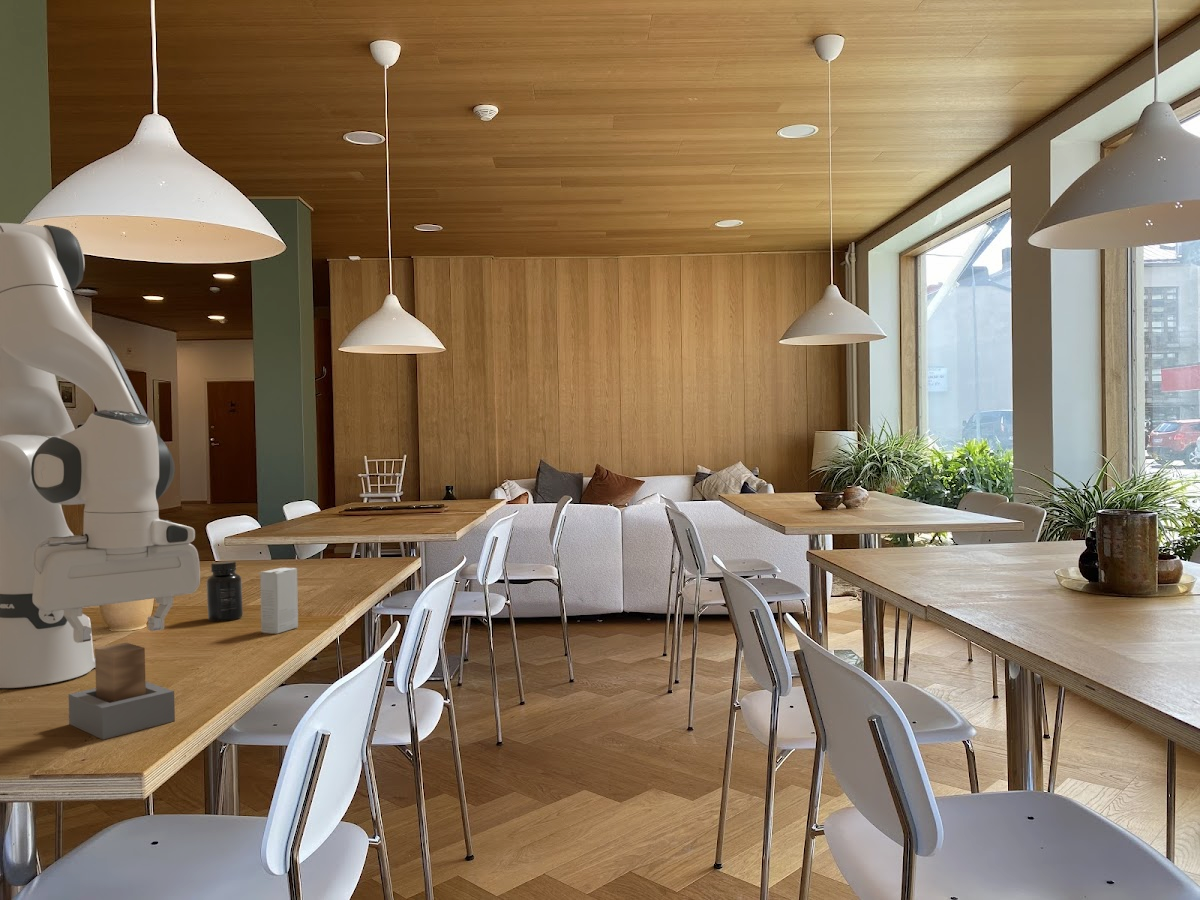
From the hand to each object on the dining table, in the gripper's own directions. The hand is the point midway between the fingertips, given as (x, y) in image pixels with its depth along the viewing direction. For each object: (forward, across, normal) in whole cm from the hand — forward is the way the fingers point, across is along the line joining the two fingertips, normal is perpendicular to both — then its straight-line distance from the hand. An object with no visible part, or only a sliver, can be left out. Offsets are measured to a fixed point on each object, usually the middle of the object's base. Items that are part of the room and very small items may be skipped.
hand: (120, 635), depth 118 cm
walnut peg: (+12, 0, -1) cm, 12 cm away
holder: (+12, 0, -1) cm, 12 cm away
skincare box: (+12, +45, +34) cm, 57 cm away
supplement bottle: (+12, +45, +54) cm, 72 cm away
